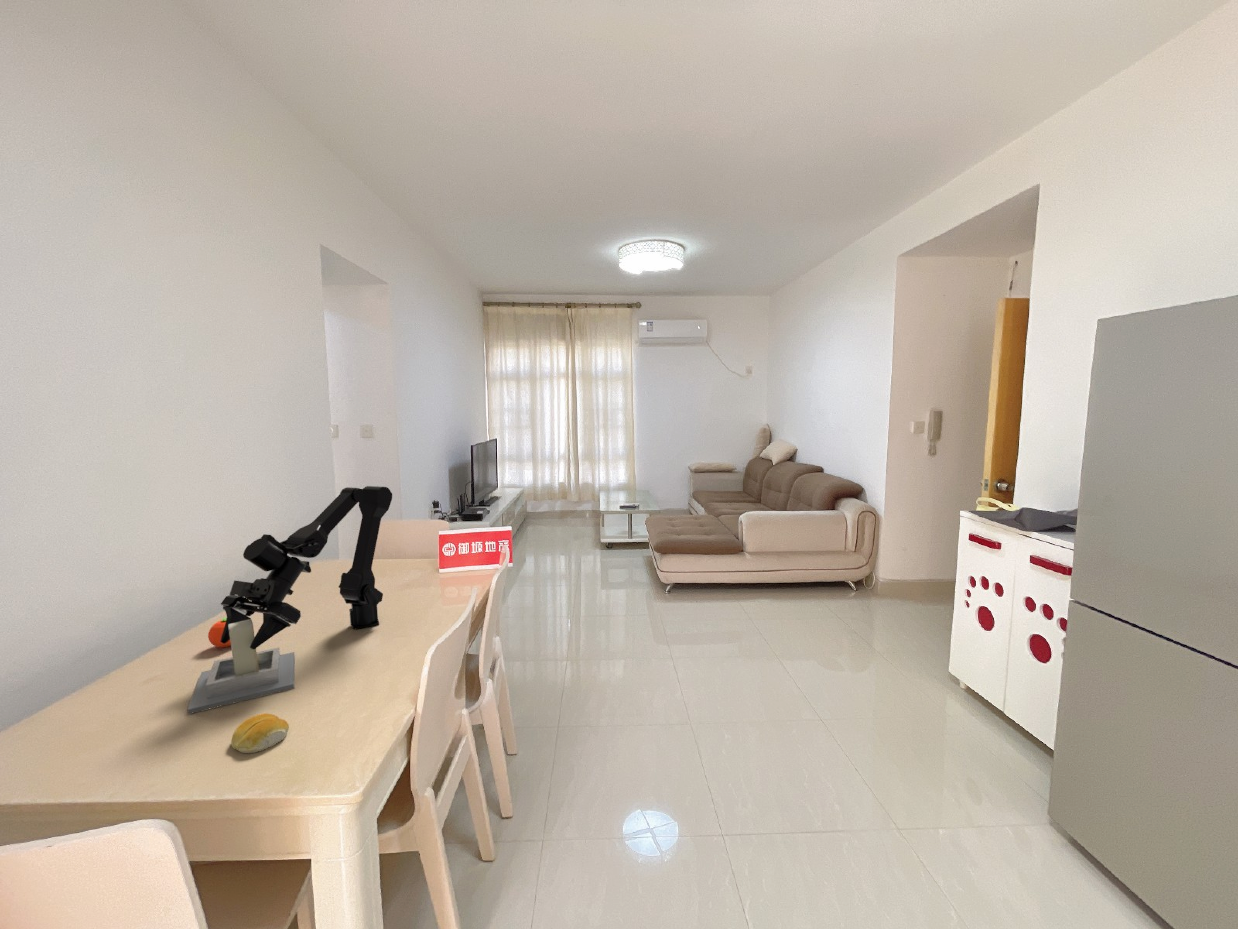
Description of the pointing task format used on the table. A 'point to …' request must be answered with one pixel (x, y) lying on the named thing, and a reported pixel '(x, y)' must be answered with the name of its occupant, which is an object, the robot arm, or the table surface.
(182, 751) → the table surface
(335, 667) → the table surface
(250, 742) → the bread roll
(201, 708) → the port base
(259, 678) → the port collar
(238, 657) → the skincare box
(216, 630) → the clementine
